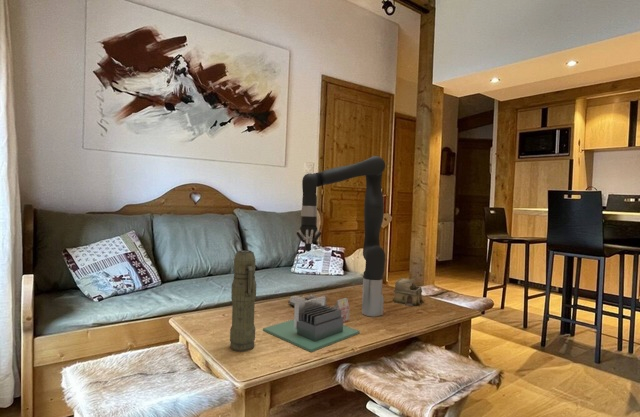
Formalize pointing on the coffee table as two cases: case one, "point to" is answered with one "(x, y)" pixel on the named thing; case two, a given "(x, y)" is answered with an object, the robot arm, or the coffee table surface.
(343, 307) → the tea bag
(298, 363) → the coffee table surface
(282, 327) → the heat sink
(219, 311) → the coffee table surface
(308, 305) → the silver metal plate
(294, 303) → the graphics card
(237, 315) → the thermos
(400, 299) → the miniature house
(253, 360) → the coffee table surface
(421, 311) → the coffee table surface
